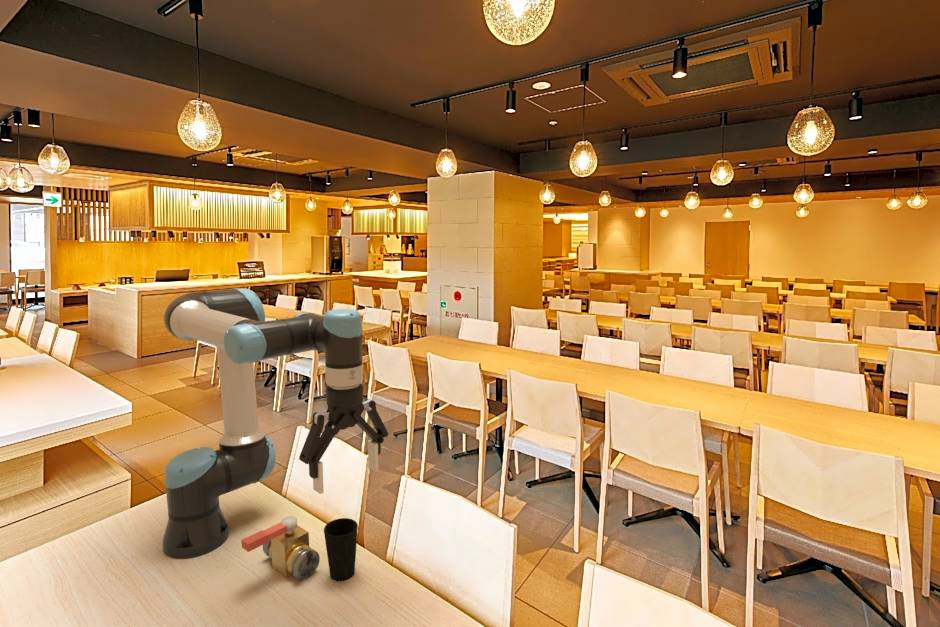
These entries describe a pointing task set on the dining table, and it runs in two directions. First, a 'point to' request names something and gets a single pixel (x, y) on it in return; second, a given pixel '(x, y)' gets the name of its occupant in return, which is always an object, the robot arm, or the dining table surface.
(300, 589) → the dining table surface
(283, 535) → the valve body
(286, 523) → the lever
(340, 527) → the cup
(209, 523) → the robot arm
